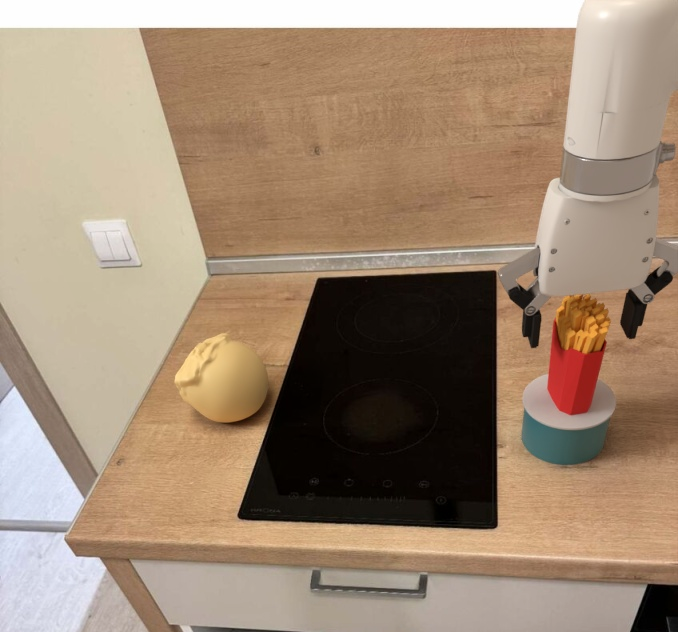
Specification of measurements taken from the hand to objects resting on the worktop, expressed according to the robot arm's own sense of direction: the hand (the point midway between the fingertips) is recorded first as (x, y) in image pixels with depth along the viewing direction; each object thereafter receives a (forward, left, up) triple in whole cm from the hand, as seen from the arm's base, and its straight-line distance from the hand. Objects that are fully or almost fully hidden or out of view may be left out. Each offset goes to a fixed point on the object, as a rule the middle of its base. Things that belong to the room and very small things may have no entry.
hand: (579, 336), depth 65 cm
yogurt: (0, 0, -16) cm, 16 cm away
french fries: (0, 0, -9) cm, 9 cm away
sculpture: (+44, -13, -16) cm, 49 cm away
